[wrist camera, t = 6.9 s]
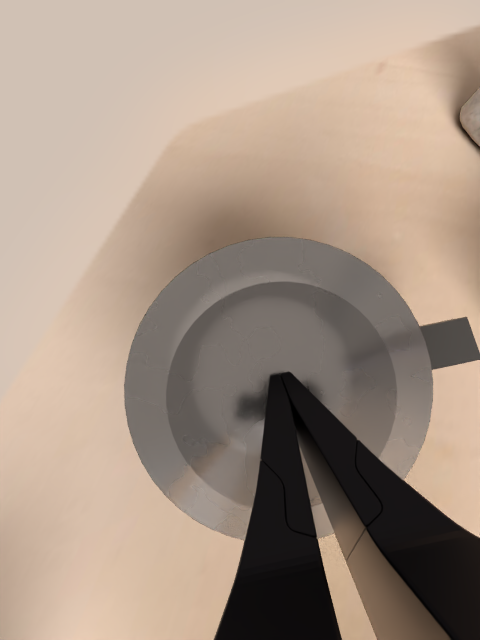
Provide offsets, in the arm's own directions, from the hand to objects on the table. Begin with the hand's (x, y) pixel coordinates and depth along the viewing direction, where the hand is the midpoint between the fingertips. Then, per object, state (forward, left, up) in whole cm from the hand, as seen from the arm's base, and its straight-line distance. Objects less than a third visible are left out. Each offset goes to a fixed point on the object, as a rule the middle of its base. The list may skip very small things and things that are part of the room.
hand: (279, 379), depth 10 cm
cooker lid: (0, 0, -2) cm, 2 cm away
